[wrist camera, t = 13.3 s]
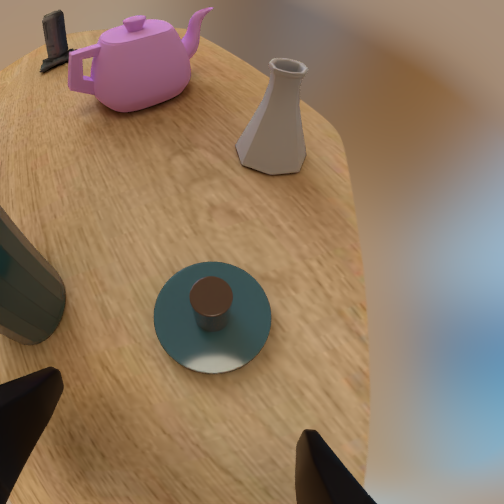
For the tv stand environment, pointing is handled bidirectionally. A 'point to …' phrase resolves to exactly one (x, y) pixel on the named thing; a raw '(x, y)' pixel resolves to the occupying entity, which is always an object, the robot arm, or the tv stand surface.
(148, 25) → the teapot
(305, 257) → the tv stand surface
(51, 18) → the beverage can
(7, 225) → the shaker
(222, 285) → the lid
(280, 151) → the flask
